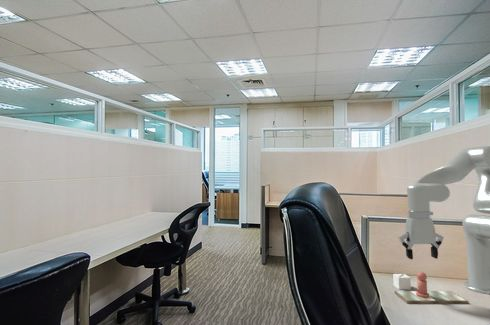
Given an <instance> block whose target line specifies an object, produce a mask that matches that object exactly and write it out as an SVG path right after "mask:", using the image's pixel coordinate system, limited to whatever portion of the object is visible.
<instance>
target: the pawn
mask: <svg viewBox="0 0 490 325" xmlns="http://www.w3.org/2000/svg"><path fill="white" fill-rule="evenodd" d="M427 278H428V276H427V274H426V273H425V272H424V271H419V272H417V274H416V279H417V290H415V291H416V295H417V296H419V297H422V298H428V297H429V293H427V291H428V283H427V282H428V281H427Z"/></svg>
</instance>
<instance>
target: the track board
mask: <svg viewBox="0 0 490 325" xmlns="http://www.w3.org/2000/svg"><path fill="white" fill-rule="evenodd" d="M416 291H417V290H395V291H394V295H396V296H397V297H398V298H400V299H401V300H402V301H404V303H406V304H413V305H414V304H420V305H421V304H422V305H425V304H426V305H427V304H428V305H429V304H437V305H438V304H445V305H446V304H447V305H448V304H449V305H450V304H454V305H455V304H458V305H459V304H464V305H466V304H469V300H467V299H466V298H464V297H462V296H460V295H459V294H457V293H455V292H454V291H452V290H427V293H429V297H428V298H422V297H419V296H417V295H416Z"/></svg>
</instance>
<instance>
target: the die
mask: <svg viewBox="0 0 490 325" xmlns="http://www.w3.org/2000/svg"><path fill="white" fill-rule="evenodd" d="M392 275H393V277H392V278H393V280H392V281H393V286H394V287H395V288H396V289H398V290H411V289H412V283H411V277H410V276H408V275H407V274H405V273H393V274H392Z"/></svg>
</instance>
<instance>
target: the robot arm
mask: <svg viewBox="0 0 490 325" xmlns="http://www.w3.org/2000/svg"><path fill="white" fill-rule="evenodd" d="M472 171H475V173H476V175H477V178H478V186H477V189H476V191H475V195H474V199H473V205H472V206H473V208H474V210H475V211H476V212H478V213H481V214H474V213H473V214H469V215H466V216H465V217H463V220H462V229H463V233H464V237H465V241H466V242H465V243H466V244H465V245H466V261H467V262H466V263H467V264H466V265H467V280H468V281H465V282H464V283H463V286H464V287H465V289H468V290H470V291H473V292H476V293H479V294H485V295H486V294H487V295H490V146H487V145H486V146H483V145H482V146H475V147H467V148H463V149H462V150H461V151H459V152H458V153H457V154H456V155H455V156H454V157H452V159H451V160H450V161H448V162H447V163H446V164H445V165H443V166H441V167H439V168H436V169H435V170H433V171H430V172H428V173H425V174H424V175H422V176H421V178H419V179H418V180H417V181H416V182H415V183H414V184H410V185H408V186H407V188H406V192H407V193H406V194H407V206H408V208H407V210H408V217H407V218H406V220H405V221H406V222H405V229H404V230H405V233H404V234H402V235H401V236H399V237H398V240H399V243H400V245H402V246H403V247H404V248H405V254H406V257H407V259H409V260H413V259H414V255H413V254H414V252H413V248H412V247H413V246H415V245H430V256H431V257H432V258H434V259H438V257H439V250H438V249H439V248H440V246H441V245H442V244H443V241H444V236H442V235H440V234H439V233H436V229H435V224H434V220H433V218H431V217H432V216H434V212H433V211H431V208H430V203H432V202H435V203H442V202H445V201H447V200H448V199H449V197H450V196H451V195H450V194H451V192H450V188H449V187H448V186H447V185H450V184H454V183H457V182H460V181H463V180H464V179H465V178H466V177H467V176H468V175H469V174H470V173H471V172H472ZM485 214H486V215H485Z"/></svg>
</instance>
